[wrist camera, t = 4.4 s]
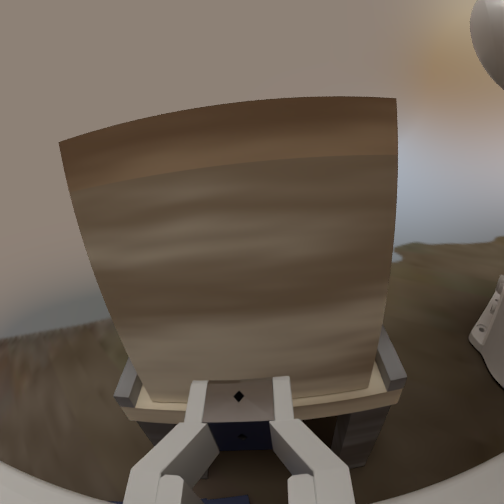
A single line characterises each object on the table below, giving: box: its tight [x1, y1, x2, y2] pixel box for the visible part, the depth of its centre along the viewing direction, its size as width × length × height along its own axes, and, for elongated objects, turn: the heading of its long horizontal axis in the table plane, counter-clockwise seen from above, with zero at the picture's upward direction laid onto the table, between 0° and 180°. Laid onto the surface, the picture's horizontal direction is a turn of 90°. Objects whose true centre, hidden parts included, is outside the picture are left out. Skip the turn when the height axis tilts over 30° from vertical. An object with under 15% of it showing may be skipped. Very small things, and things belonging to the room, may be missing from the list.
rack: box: [114, 324, 407, 479], centre depth 27 cm, size 23×16×12 cm
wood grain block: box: [59, 96, 398, 403], centre depth 17 cm, size 12×12×14 cm
